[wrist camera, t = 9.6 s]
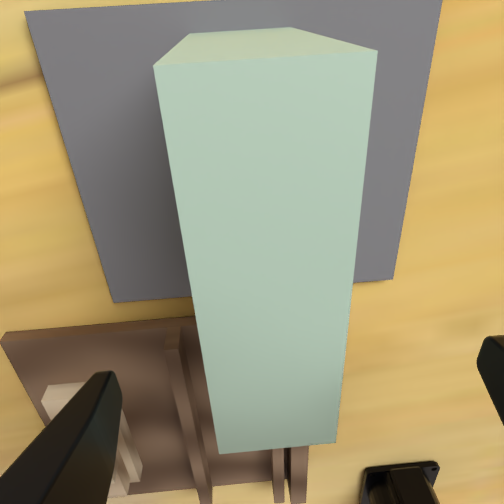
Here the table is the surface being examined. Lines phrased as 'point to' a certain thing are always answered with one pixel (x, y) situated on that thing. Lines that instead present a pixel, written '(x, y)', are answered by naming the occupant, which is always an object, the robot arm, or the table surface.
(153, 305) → the table surface
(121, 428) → the offcut stack
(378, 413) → the table surface
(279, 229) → the tall board
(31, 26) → the rubber mat
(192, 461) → the board rack
